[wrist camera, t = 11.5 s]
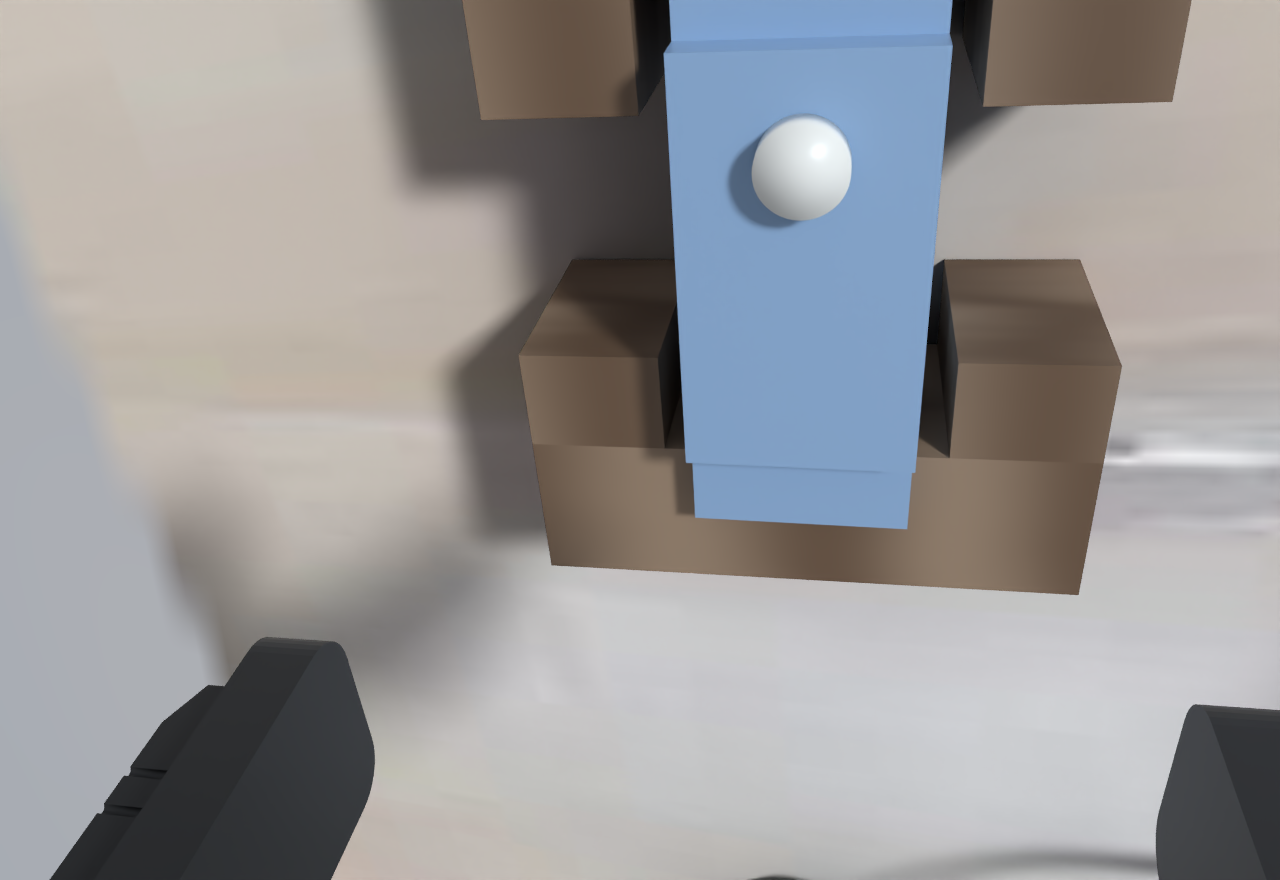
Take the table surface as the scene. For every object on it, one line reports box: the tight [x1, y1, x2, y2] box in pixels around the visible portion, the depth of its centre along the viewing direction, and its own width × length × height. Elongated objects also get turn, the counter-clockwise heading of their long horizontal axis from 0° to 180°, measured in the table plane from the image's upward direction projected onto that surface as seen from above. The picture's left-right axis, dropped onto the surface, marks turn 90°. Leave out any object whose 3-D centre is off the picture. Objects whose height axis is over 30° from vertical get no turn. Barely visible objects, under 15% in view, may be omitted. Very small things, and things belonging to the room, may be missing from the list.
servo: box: [664, 0, 953, 529], centre depth 21 cm, size 4×12×7 cm, turn 4°
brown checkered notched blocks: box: [462, 0, 1191, 595], centre depth 22 cm, size 12×16×5 cm
